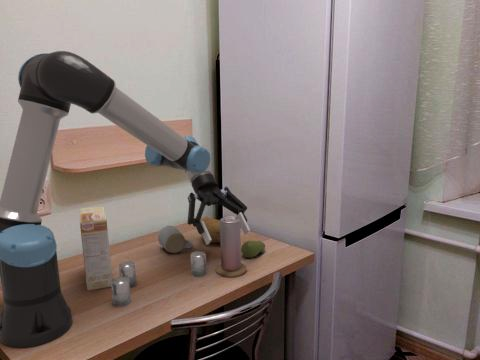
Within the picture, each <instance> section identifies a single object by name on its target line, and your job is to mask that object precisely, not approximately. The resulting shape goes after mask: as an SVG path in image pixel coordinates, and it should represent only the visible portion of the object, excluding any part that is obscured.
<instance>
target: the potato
mask: <svg viewBox="0 0 480 360" xmlns="http://www.w3.org/2000/svg"><path fill="white" fill-rule="evenodd" d="M201 221H204V223H205V225H206V228H207V230H208V232H209V234H210V237H211V239H212V240H211V242H210V244H211V243H212V244H215V243H220V219H215V218H212V217H204V218H201V220H200V222H201ZM200 236H201V238H203V236H202V234H200Z"/></svg>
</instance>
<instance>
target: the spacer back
mask: <svg viewBox="0 0 480 360" xmlns="http://www.w3.org/2000/svg"><path fill="white" fill-rule="evenodd" d="M118 273H119V274H118V275H119V276H118V277H127V278H129V286H130V289H131V288H134V287H136V286H137V275H136V263H135V261H131V260H127V261H123V262H120V263H119V264H118Z"/></svg>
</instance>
